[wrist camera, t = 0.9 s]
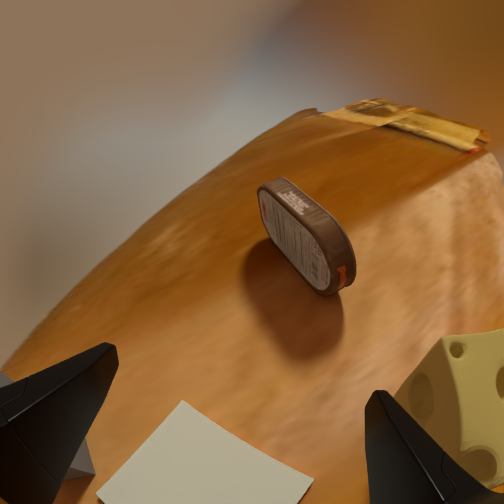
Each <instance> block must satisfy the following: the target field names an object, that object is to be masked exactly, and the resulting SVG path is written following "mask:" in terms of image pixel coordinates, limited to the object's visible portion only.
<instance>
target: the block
mask: <svg viewBox="0 0 504 504" xmlns="http://www.w3.org/2000/svg"><path fill="white" fill-rule="evenodd" d="M12 383H14V381H13V380H11V379H10V378H9V377H7V376H6V375H5V374H4V373H2V372H1V371H0V387H3V386H6V385H9V384H12ZM91 475H96V474H95V471H94V468H93V464H92V461H91V457H90V454H89V450H88V446H87V443H86V439H85V438H84V440H83V442H82V444H81V446H80V448H79V450H78V452H77V454H76V456H75V458H74V460H73V462H72V464H71V466H70V468H69V470H68V472H67V474H66V476H65V478H64V480H63V481H65V480H71V479H76V478H82V477H87V476H91Z"/></svg>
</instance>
